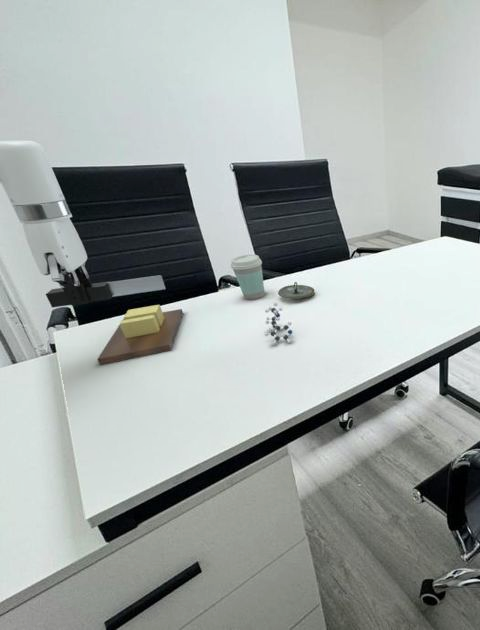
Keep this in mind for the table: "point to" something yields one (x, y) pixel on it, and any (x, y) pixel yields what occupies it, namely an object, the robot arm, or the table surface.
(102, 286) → the knife
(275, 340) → the molecule model
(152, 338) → the board
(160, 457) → the table surface
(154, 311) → the butter block
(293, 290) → the lid
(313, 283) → the table surface
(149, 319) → the butter slice
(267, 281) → the table surface
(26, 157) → the robot arm
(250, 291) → the coffee cup
